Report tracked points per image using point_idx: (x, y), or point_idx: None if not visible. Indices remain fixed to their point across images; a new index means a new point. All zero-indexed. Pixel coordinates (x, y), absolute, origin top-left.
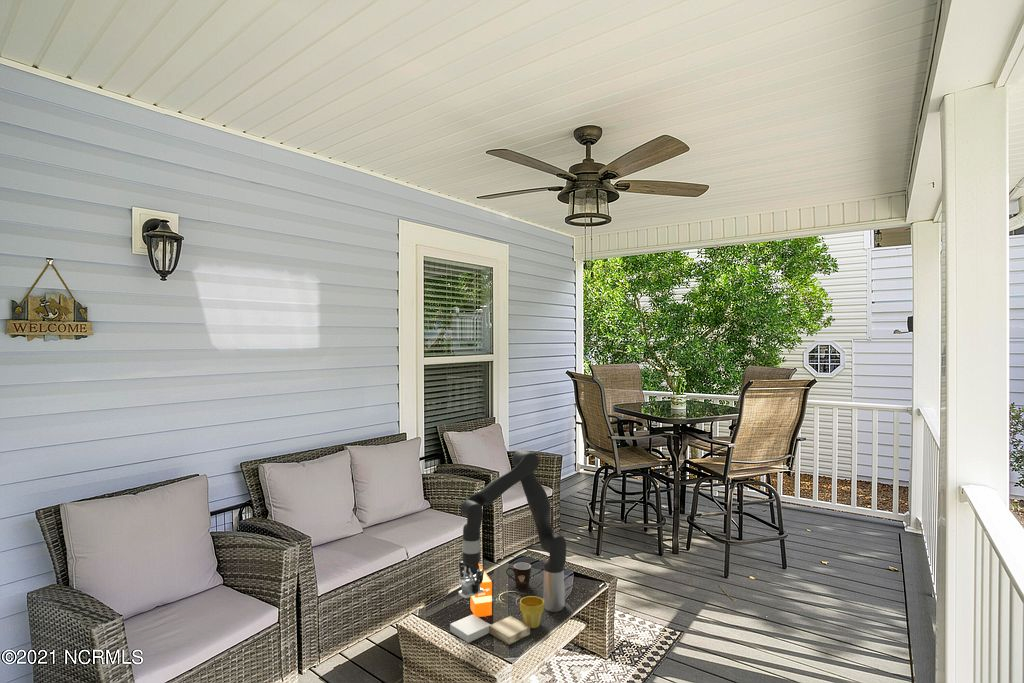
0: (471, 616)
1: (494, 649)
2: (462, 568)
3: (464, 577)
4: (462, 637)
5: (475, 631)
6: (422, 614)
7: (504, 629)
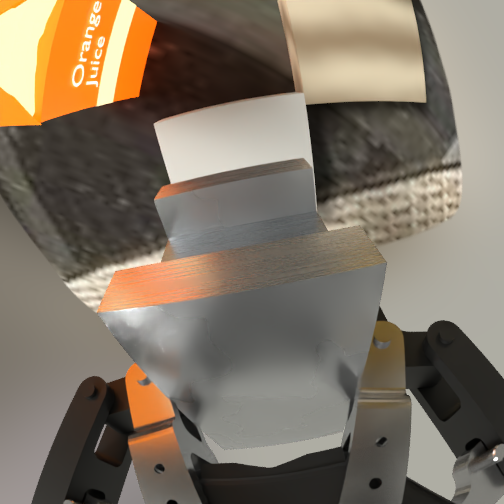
0: (173, 138)
1: (398, 156)
2: (111, 488)
3: (184, 422)
4: None
5: None
6: (61, 265)
7: (375, 72)
